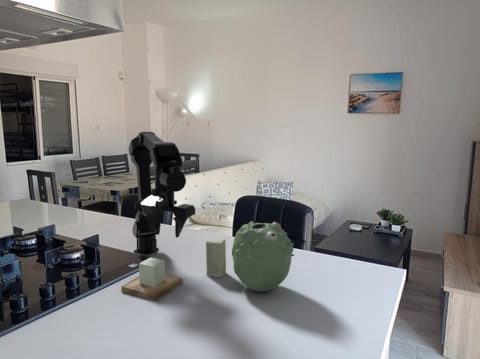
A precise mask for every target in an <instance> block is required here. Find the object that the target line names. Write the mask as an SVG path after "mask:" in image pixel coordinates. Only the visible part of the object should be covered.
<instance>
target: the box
mask: <svg viewBox="0 0 480 359" xmlns="http://www.w3.org/2000/svg"><path fill="white" fill-rule="evenodd" d="M226 241H227V240H226V239H225V238H216V237H211V238H209V239H208V240H206V241H205V255H206V276H207V277H214V278H215V277H216V278H222V277H223V276H224V275H225V274H226V272H227V261H226V260H227V257H226V256H227V255H226V253H227V252H226V251H227V247H226Z"/></svg>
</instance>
